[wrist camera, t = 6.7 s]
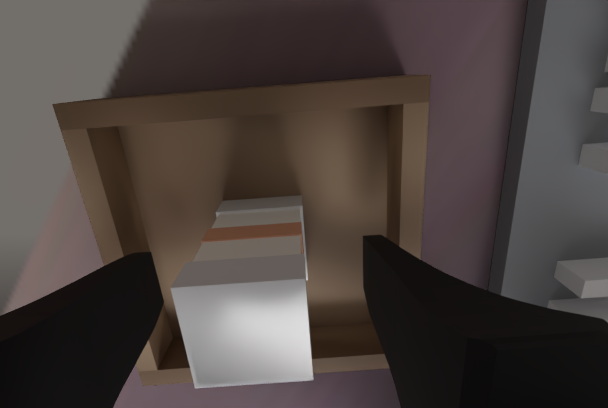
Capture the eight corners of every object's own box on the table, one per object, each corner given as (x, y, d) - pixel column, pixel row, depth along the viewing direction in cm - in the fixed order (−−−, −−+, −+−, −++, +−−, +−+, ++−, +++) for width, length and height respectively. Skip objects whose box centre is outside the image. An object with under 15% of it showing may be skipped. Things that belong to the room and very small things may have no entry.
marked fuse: (307, 264, 15) (313, 380, 9) (233, 269, 15) (195, 388, 9) (302, 195, 14) (305, 278, 8) (222, 200, 14) (170, 288, 8)
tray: (398, 325, 17) (414, 366, 14) (164, 342, 17) (143, 385, 15) (406, 74, 13) (430, 74, 10) (97, 98, 13) (52, 104, 10)
